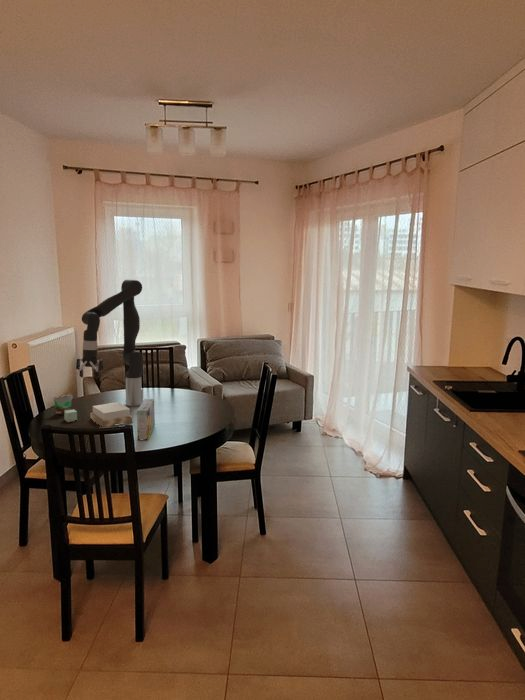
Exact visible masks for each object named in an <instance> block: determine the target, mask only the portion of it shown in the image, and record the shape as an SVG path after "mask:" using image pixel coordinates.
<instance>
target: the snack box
mask: <svg viewBox="0 0 525 700" xmlns="http://www.w3.org/2000/svg"><path fill="white" fill-rule="evenodd" d="M155 419H156V418H155V398H143V402H142V404H141V405H139V407H138V408H137V410H136V421H137V425H136V427H137V440H138V439H148V438H149V439H150V437H151V435H150V434H152V433H153V431H152V430H154V429H155V427H154V426H156V423H155V422H156V421H155ZM153 428H154V429H153ZM151 432H152V433H151ZM149 436H150V437H149ZM149 439H148V440H149Z"/></svg>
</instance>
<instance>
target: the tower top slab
mask: <svg viewBox="0 0 525 700" xmlns="http://www.w3.org/2000/svg"><path fill="white" fill-rule="evenodd" d="M92 413H93V414H95V415H96V416H98V417H99V418H101V419H102V420H104V421H106V420H111V419H117V418H122V417H128V416H130V415H131V409H130V408H129V407H127V405H126V406H125V405H123V404H122V403H121V402H117V401H116V402H111V403H110V402H109V403H104V404H98V405H92Z"/></svg>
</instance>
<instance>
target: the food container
mask: <svg viewBox="0 0 525 700" xmlns="http://www.w3.org/2000/svg"><path fill="white" fill-rule="evenodd" d="M72 399H73V395H72V393H71V392H66V394H64V395H60V396H59V397H58V396H57V397H54V398H53V402H54V407H55V408H54V409H55V415H57V414H61V415H64V411H66V410H72Z"/></svg>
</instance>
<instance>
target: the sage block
mask: <svg viewBox="0 0 525 700" xmlns="http://www.w3.org/2000/svg"><path fill="white" fill-rule="evenodd" d="M63 415H64V421H66V422H67V423H70V422H75V420H77V421H78V411H77V410H76V409H74V408H73V409H71V410H66V411H64V414H63Z"/></svg>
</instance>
